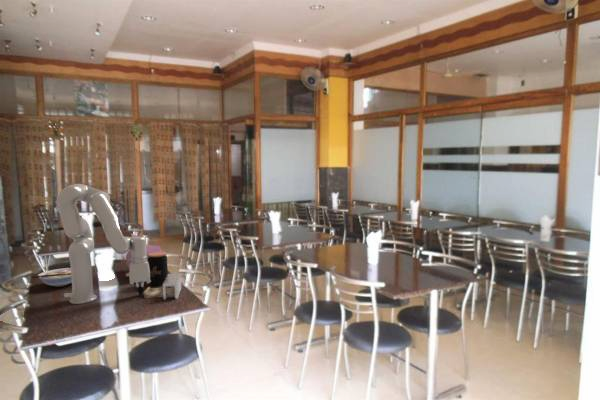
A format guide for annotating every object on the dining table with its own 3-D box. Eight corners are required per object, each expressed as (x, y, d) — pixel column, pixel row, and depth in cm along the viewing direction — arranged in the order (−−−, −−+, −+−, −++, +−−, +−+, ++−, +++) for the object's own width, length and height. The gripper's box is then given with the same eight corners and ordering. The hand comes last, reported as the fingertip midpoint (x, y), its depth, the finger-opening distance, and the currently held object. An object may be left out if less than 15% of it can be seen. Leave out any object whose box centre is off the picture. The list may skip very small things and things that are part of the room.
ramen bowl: (88, 277, 260) (87, 264, 259) (81, 288, 238) (80, 274, 237) (42, 282, 252) (41, 268, 251) (31, 293, 230) (30, 278, 230)
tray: (144, 298, 220) (143, 292, 219) (148, 292, 229) (147, 287, 229) (173, 296, 222) (173, 291, 221) (176, 290, 232) (176, 285, 231)
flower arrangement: (123, 277, 277) (110, 237, 273) (158, 265, 289) (147, 226, 286) (133, 285, 247) (119, 239, 244) (172, 271, 259) (159, 227, 256)
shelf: (163, 299, 216) (162, 284, 216) (168, 288, 236) (168, 273, 235) (177, 298, 218) (176, 283, 217) (181, 287, 237) (181, 273, 236)
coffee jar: (144, 285, 242) (143, 254, 240) (157, 280, 252) (156, 251, 250) (159, 287, 238) (158, 256, 236) (172, 282, 248) (170, 252, 246)
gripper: (122, 262, 217) (124, 297, 219) (152, 261, 220) (154, 295, 222) (126, 259, 225) (127, 292, 226) (155, 257, 227) (156, 290, 229)
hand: (140, 293), depth 224 cm, fingers closed
